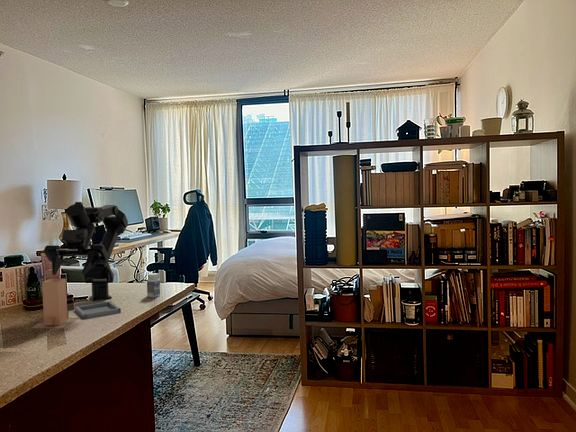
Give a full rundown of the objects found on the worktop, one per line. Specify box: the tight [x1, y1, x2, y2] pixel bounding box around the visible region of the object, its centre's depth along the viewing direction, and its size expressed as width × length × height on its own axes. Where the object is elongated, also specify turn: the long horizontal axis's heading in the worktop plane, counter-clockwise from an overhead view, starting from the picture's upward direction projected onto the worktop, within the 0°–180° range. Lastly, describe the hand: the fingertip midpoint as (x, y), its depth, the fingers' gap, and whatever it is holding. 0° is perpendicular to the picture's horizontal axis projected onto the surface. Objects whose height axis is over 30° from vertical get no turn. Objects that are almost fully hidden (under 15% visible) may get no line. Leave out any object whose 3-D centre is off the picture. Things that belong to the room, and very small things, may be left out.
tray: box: [75, 301, 122, 320], centre depth 141 cm, size 12×11×2 cm
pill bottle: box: [146, 272, 161, 298], centre depth 164 cm, size 5×5×8 cm
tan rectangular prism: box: [41, 278, 68, 325], centre depth 127 cm, size 6×5×13 cm
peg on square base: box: [29, 317, 80, 330], centre depth 129 cm, size 10×10×4 cm
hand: (68, 274), depth 136 cm, fingers open, 9 cm apart
